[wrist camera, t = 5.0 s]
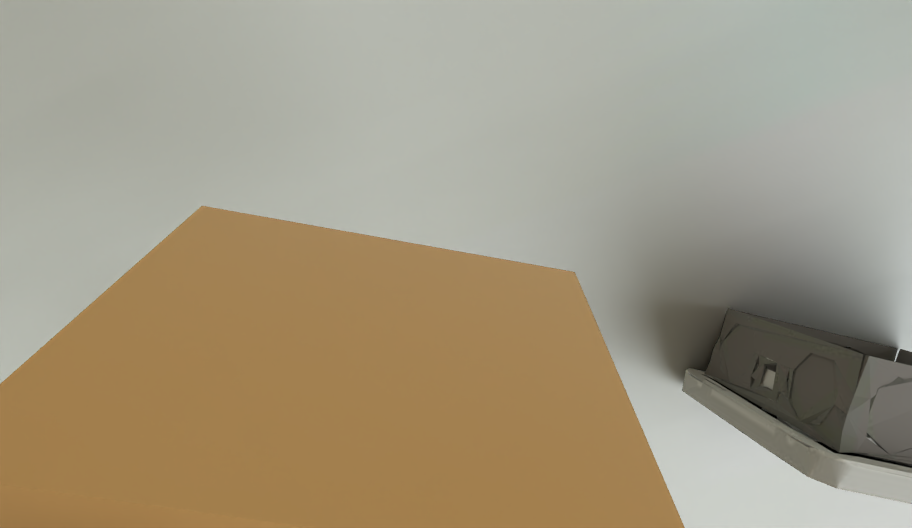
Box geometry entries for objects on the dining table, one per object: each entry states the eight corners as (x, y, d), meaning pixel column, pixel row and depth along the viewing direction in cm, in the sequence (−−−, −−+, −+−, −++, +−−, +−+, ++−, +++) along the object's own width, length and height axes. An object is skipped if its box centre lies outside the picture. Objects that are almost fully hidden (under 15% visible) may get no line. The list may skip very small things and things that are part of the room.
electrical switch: (670, 382, 27) (793, 536, 18) (715, 266, 26) (872, 371, 17) (872, 426, 28) (1082, 593, 19) (925, 317, 27) (1178, 442, 18)
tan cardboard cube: (202, 206, 10) (-97, 470, 5) (574, 271, 11) (709, 583, 5) (189, 499, 12) (-20, 910, 7) (495, 542, 13) (528, 959, 7)
